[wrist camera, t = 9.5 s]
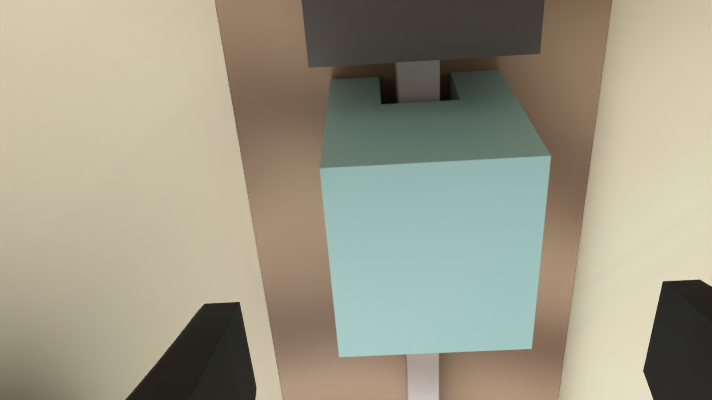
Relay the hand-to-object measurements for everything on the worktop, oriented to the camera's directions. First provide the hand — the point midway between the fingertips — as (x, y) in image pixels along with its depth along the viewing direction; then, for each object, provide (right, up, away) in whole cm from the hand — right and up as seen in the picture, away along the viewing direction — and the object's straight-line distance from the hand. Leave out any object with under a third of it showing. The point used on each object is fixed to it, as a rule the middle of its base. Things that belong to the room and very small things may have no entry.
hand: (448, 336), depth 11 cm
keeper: (0, +4, +7) cm, 8 cm away
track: (+1, -2, +12) cm, 12 cm away
